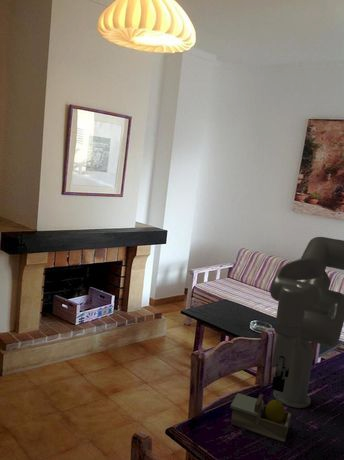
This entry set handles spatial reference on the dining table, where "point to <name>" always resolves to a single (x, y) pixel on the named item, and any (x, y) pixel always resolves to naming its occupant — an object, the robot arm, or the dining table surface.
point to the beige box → (262, 424)
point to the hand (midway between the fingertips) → (280, 382)
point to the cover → (247, 404)
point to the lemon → (275, 411)
